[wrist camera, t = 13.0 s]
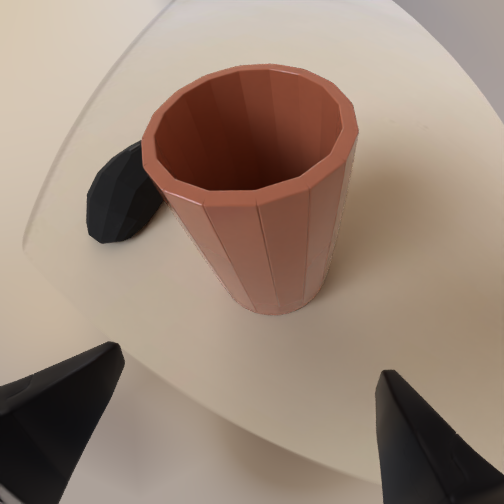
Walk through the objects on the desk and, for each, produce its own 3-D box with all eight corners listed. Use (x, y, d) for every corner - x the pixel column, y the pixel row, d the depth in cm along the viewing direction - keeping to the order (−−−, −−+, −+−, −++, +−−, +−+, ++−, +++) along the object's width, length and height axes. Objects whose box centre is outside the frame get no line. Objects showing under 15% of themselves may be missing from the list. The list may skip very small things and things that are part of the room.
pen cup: (299, 334, 17) (306, 247, 7) (202, 286, 19) (103, 169, 9) (342, 238, 20) (377, 87, 9) (251, 203, 22) (214, 56, 11)
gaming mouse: (228, 128, 26) (218, 94, 22) (124, 260, 21) (95, 236, 18) (178, 116, 28) (166, 86, 24) (81, 230, 23) (55, 206, 20)
